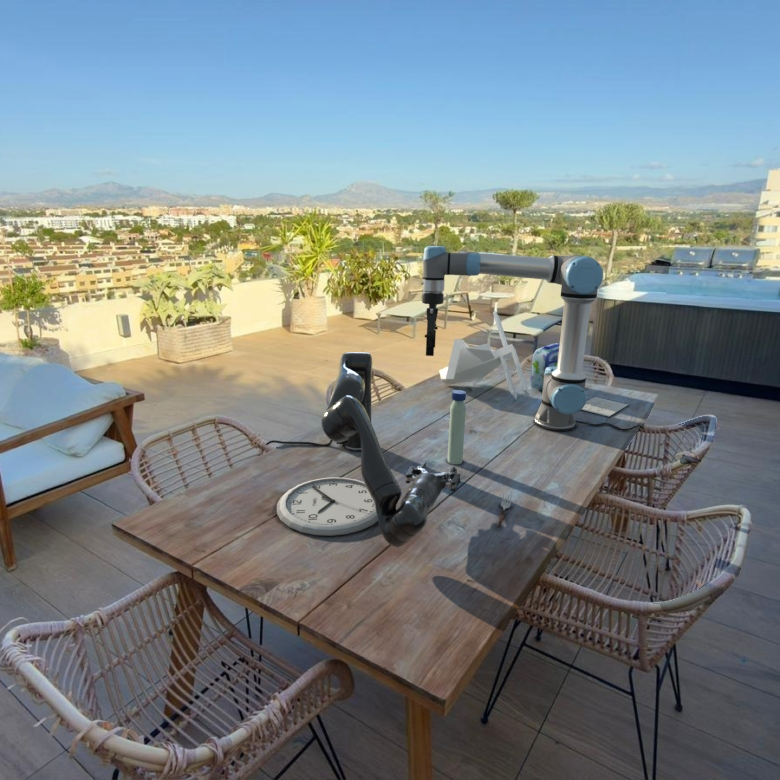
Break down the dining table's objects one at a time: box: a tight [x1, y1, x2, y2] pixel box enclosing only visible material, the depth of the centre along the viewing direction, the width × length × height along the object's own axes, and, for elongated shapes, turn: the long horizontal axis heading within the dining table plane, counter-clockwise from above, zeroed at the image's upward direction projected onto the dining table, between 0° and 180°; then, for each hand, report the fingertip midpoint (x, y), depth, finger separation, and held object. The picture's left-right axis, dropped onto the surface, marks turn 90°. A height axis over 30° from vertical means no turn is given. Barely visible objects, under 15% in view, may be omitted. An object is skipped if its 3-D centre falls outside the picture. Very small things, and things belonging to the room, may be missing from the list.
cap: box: [451, 389, 467, 402], centre depth 164 cm, size 4×4×2 cm
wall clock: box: [276, 476, 378, 537], centre depth 142 cm, size 30×2×30 cm
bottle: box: [447, 400, 467, 465], centre depth 168 cm, size 5×5×23 cm
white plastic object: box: [438, 310, 531, 400], centre depth 245 cm, size 37×45×31 cm
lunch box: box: [530, 342, 560, 391], centre depth 250 cm, size 26×11×21 cm, turn 134°
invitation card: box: [580, 396, 629, 418], centre depth 226 cm, size 21×1×15 cm
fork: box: [497, 493, 513, 528], centre depth 139 cm, size 3×16×2 cm, turn 160°
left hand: (439, 467), depth 148 cm, fingers open, 8 cm apart
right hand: (430, 351), depth 189 cm, fingers open, 13 cm apart
